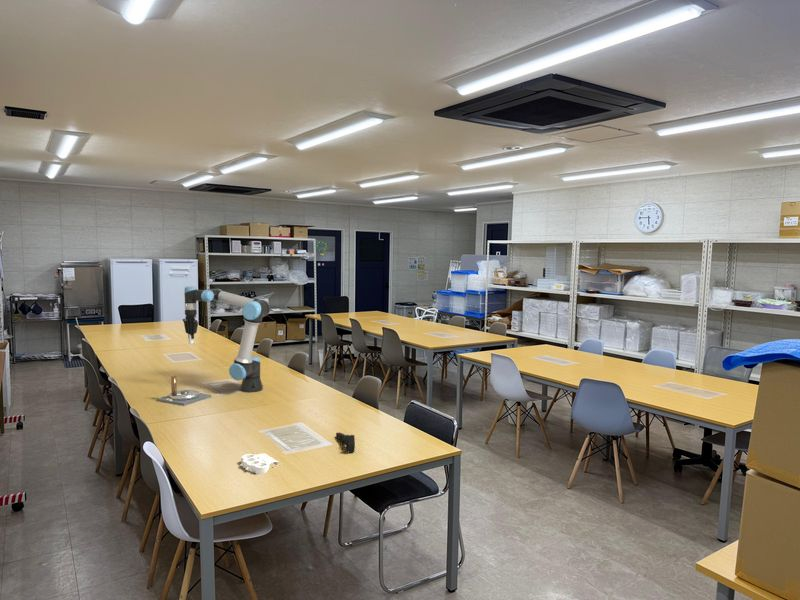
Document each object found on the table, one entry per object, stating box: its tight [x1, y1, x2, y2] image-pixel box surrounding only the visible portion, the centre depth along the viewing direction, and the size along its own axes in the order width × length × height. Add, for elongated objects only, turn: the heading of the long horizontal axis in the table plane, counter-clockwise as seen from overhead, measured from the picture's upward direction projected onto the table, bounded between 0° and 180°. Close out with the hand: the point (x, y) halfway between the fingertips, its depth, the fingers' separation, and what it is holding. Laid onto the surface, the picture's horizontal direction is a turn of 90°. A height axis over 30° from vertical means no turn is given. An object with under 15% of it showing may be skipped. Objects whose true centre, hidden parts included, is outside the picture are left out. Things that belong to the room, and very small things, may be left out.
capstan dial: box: [168, 375, 200, 400], centre depth 341 cm, size 18×18×14 cm
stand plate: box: [156, 392, 212, 407], centre depth 342 cm, size 23×23×2 cm
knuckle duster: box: [239, 453, 280, 475], centre depth 237 cm, size 3×18×15 cm
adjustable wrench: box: [335, 432, 356, 454], centre depth 265 cm, size 8×3×25 cm
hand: (191, 343), depth 362 cm, fingers closed
